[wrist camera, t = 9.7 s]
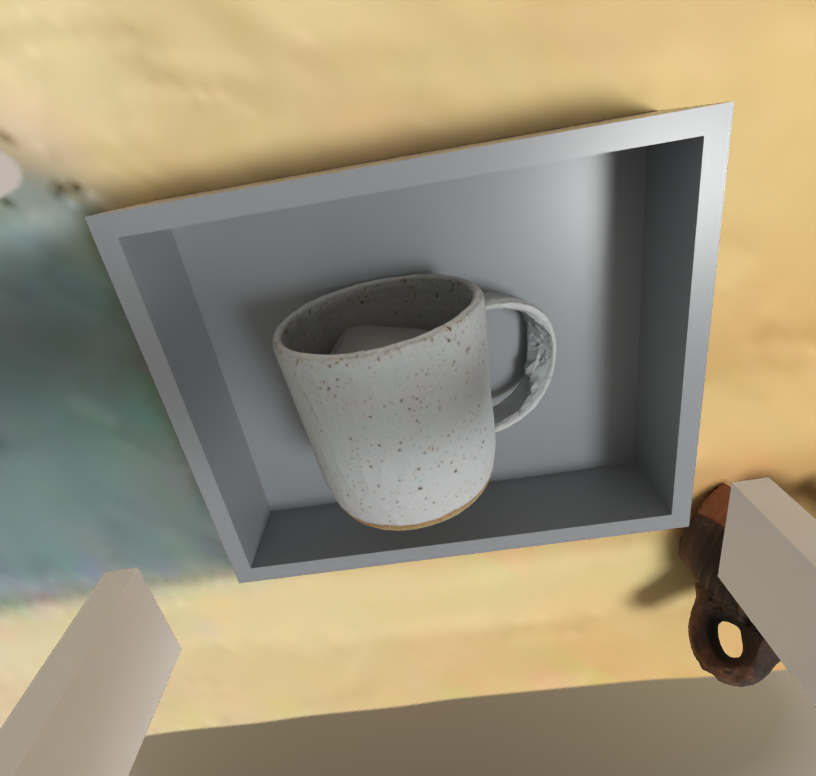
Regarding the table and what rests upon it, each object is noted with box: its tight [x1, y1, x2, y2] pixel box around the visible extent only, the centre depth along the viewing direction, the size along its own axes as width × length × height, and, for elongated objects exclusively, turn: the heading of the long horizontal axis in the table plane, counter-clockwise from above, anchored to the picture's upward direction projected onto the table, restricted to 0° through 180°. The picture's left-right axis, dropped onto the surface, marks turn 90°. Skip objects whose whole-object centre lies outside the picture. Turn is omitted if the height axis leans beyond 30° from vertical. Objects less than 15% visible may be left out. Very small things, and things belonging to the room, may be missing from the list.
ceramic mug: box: [273, 274, 556, 531], centre depth 20 cm, size 11×8×8 cm
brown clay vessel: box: [679, 484, 781, 687], centre depth 27 cm, size 12×10×8 cm
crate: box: [84, 102, 734, 583], centre depth 22 cm, size 21×17×5 cm
